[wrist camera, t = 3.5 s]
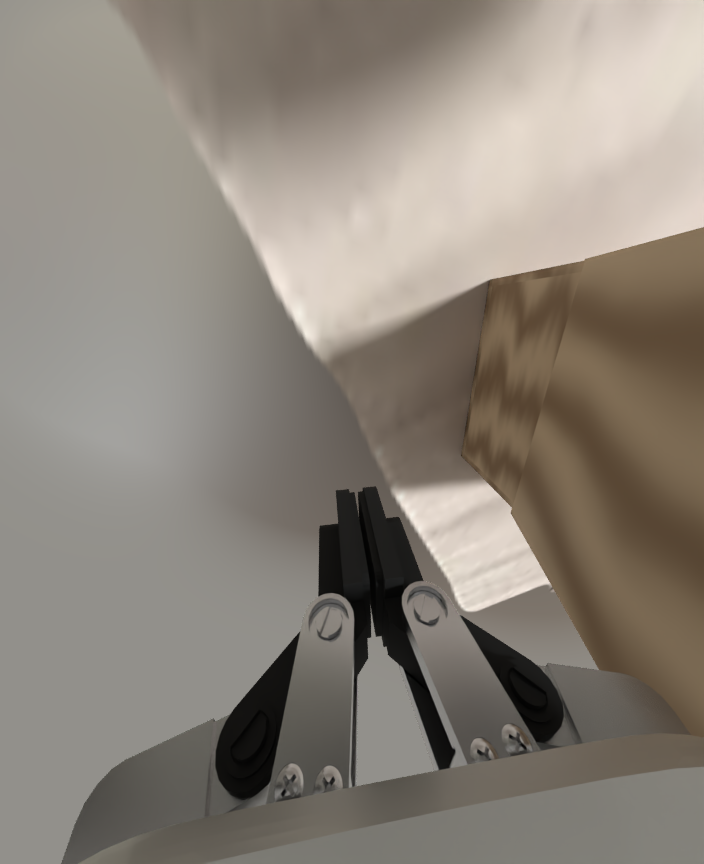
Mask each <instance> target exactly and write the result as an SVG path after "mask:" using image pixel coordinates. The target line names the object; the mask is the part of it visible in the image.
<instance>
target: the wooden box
mask: <svg viewBox="0 0 704 864" xmlns="http://www.w3.org/2000/svg"><path fill="white" fill-rule="evenodd" d="M584 262H585V261H581V262H576V263H571V264H566V265H561V266H556V267H551V268H546V269H541V270H536V271H531V272H526V273H521V274H516V275H511V276H506V277H501V278H496V279H491V280H490V282H489V288H488V294H487V300H486V306H485V313H484V319H483V325H482V331H481V337H480V343H479V349H478V356H477V362H476V368H475V374H474V380H473V386H472V392H471V399H470V405H469V411H468V417H467V423H466V429H465V435H464V442H463V448H462V454H461V456H462V457H463V458H464V459H465V460H466V461H467V462H468V463H469V464H470V465H471V466H472V467H473V468H474V469H475V470H476V471H477V472H478V473H479V474H480V475H481V476H482V477H483V478H484V479H485V480H486V482H487V483H488V484H489V485H490V486H491V487H492V488H493V489H494V490H495V491H496V492H497V493H498V494H499V495H500V496H501V497H502V498H503V499H504V500H505V501H506V502H507V503H508V504H509V505H510V506H511V507H513V503H514V500H515V497H516V493H517V490H518V486H519V483H520V480H521V476H522V473H523V469H524V466H525V463H526V459H527V456H528V452H529V449H530V446H531V442H532V439H533V435H534V432H535V429H536V425H537V422H538V418H539V415H540V412H541V408H542V405H543V401H544V398H545V394H546V391H547V388H548V384H549V381H550V377H551V374H552V371H553V367H554V364H555V360H556V357H557V354H558V350H559V347H560V343H561V340H562V337H563V333H564V330H565V326H566V323H567V320H568V316H569V313H570V309H571V306H572V303H573V299H574V296H575V292H576V289H577V286H578V282H579V279H580V275H581V272H582V269H583V265H584Z"/></svg>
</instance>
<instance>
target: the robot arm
mask: <svg viewBox="0 0 704 864" xmlns="http://www.w3.org/2000/svg"><path fill="white" fill-rule="evenodd" d="M336 498H337V511H338V524H332V525H323V526H320V529H319V595H318V597H317V598H316V599H315V600H314V601H312V602H311V603H310V605H309V606H308V608H307V609H306V611H305V614H304V617H303V621H302V626H301V631H300V632H299V633H298V634H297V636H296V637H295V638H294V639H293V640H292V642H291V643H290V644H289V645H288V646H287V647H286V649H285V650H284V651H283V652H282V653H281V654H280V656H279V657H278V658H277V659H276V660H275V661H274V663H273V664H272V665H271V666H270V667H269V669H268V670H267V671H266V672H265V673H264V674H263V676H262V677H261V678H260V679H259V680H258V681H257V683H256V684H255V685H254V686H253V687H252V688H251V690H250V691H249V692H248V693H247V694H246V696H245V697H244V698H243V699H242V700H241V702H240V703H239V704H238V705H237V706H236V707H235V709H234V710H233V712H232V713H231V714H230V715H228V716H226V717H224V718H221V719H220V720H218V721H215V720H214V719H211V720H209V721H207V722H205V723H203V724H201V725H199V726H196V727H194V728H192V729H190V730H188V731H186V732H184V733H181V734H179V735H177V736H175V737H173V738H171V739H169V740H167V741H164V742H162V743H160V744H158V745H156V746H154V747H152V748H150V749H148V750H145V751H143V752H141V753H139V754H137V755H135V756H132V757H130V758H128V759H126V760H124V761H123V762H122V763H120V764H119V765H117V766H116V767H114V768H113V769H111V770H110V772H109V773H108V774H107V775H106V776H105V777H104V778H103V779H102V780H101V781H100V782H99V783H98V784H97V786H96V787H95V789H94V790H93V792H92V793H91V794H90V796H89V798H88V799H87V800H86V802H85V803H84V806H83V808H82V810H81V812H80V814H79V817H78V819H77V821H76V823H75V825H74V828H73V831H72V834H71V837H70V840H69V843H68V846H67V849H66V852H65V854H64V857H63V860H62V863H61V864H704V737H698V736H692V735H691V734H690V733H689V731H688V730H687V728H686V727H685V725H684V724H683V723H682V721H681V720H680V718H679V717H678V716H677V714H676V713H675V711H674V710H673V709H672V708H671V707H670V705H669V704H668V703H667V702H666V701H665V700H664V698H663V697H662V696H661V695H659V694H658V693H657V692H656V691H655V690H654V689H652V688H651V687H650V686H649V685H647V684H646V683H644V682H642V681H641V680H639V679H637V678H635V677H633V676H630V675H626V674H623V673H616V672H609V671H602V670H594V669H587V668H580V667H573V666H565V665H558V664H551V663H547V665H546V666H540V665H535V664H534V663H533V662H532V661H531V660H529V659H527V658H526V657H525V656H523V655H521V654H520V653H518V652H517V651H515V650H513V649H512V648H510V647H509V646H508V645H506V644H504V643H503V642H501V641H500V640H498V639H496V638H495V637H494V636H492V635H490V634H489V633H487V632H486V631H484V630H482V629H481V628H479V627H478V626H476V625H475V624H473V623H472V622H470V621H469V620H467V619H466V618H464V617H463V616H461V615H459V613H458V611H457V610H456V608H455V606H454V605H453V603H452V601H451V600H450V598H449V597H448V595H447V594H446V593H445V592H444V591H443V590H442V589H441V588H440V587H438V586H437V585H435V584H433V583H431V582H426V581H423V578H422V576H421V573H420V571H419V568H418V565H417V562H416V560H415V557H414V554H413V552H412V550H411V547H410V544H409V541H408V539H407V536H406V533H405V531H404V528H403V525H402V523H401V520H400V518H399V517H393V518H386V517H385V514H384V510H383V507H382V504H381V501H380V498H379V494H378V491H377V488H376V487H366V488H363V491H362V492H358V501H359V516H358V510H357V505H356V499H355V493H354V492H353V493H349V490H348V489H347V490H337V491H336ZM370 605H371V609H370ZM370 610H372V616H373V623H374V629H375V634H376V637H377V636H382V640H383V646H384V647H385V646H387V651H388V655H389V656H390V657H391V658H392V659H394V660H395V661H396V662H397V663H398V664H399V668H400V672H401V675H402V677H403V680H404V683H405V686H406V689H407V692H408V695H409V698H410V701H411V704H412V707H413V710H414V713H415V716H416V719H417V722H418V725H419V728H420V730H421V734H422V737H423V739H424V742H425V745H426V748H427V751H428V754H429V757H430V760H431V763H432V766H433V769H434V771H433V772H428V773H423V774H417V775H412V776H407V777H402V778H397V779H392V780H386V781H381V782H376V783H371V784H366V785H361V786H356V779H357V720H358V719H357V717H358V716H357V715H358V674H359V672H360V671H361V669H362V667H363V666H364V664H365V662H366V661H367V659H368V645H367V638H370V637H371V614H370V613H371V611H370Z"/></svg>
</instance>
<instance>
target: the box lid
mask: <svg viewBox="0 0 704 864" xmlns="http://www.w3.org/2000/svg"><path fill="white" fill-rule="evenodd" d="M511 514H512V516H513V518H514V520H515V521H516V523H517V525H518V527H519V529H520V530H521V532H522V534H523V536H524V537H525V539H526V541H527V543H528V544H529V546H530V548H531V550H532V552H533V553H534V555H535V557H536V559H537V560H538V562H539V564H540V566H541V567H542V569H543V571H544V573H545V575H546V576H547V578H548V580H549V582H550V583H551V585H552V587H553V589H554V591H555V592H556V594H557V596H558V597H559V599H560V601H561V603H562V604H563V606H564V608H565V610H566V612H567V614H568V615H569V617H570V619H571V620H572V622H573V624H574V626H575V628H576V630H577V631H578V633H579V635H580V637H581V638H582V640H583V642H584V644H585V645H586V647H587V649H588V651H589V653H590V654H591V656H592V658H593V660H594V661H595V663H596V665H597V667H598V668H599V670H602V671H609V672H616V673H623V674H626V675H630V676H633V677H635V678H637V679H639V680H641V681H642V682H644V683H646V684H647V685H649V686H650V687H651V688H652V689H654V690H655V691H656V692H657V693H658V694H659V695H661V696H662V697H663V698H664V700H665V701H666V702H667V703H668V704H669V705H670V707H671V708H672V709H673V710H674V711H675V713H676V714H677V716H678V717H679V718H680V720H681V721H682V723H683V724H684V725H685V727H686V728H687V730H688V731H689V733H690V734H691V735H692V736H698V737H704V227H703V228H699V229H696V230H692V231H688V232H684V233H681V234H677V235H673V236H669V237H666V238H662V239H658V240H655V241H651V242H647V243H643V244H640V245H636V246H632V247H628V248H625V249H621V250H617V251H614V252H610V253H606V254H602V255H599V256H595V257H591V258H587V259H585V262H584V265H583V269H582V272H581V275H580V279H579V282H578V286H577V289H576V292H575V296H574V299H573V303H572V306H571V309H570V313H569V316H568V320H567V323H566V326H565V330H564V333H563V337H562V340H561V343H560V347H559V350H558V354H557V357H556V360H555V364H554V367H553V371H552V374H551V377H550V381H549V384H548V388H547V391H546V394H545V398H544V401H543V405H542V408H541V412H540V415H539V418H538V422H537V425H536V429H535V432H534V435H533V439H532V442H531V446H530V449H529V452H528V456H527V459H526V463H525V466H524V469H523V473H522V476H521V480H520V483H519V486H518V490H517V493H516V497H515V500H514V503H513V507H512V510H511Z"/></svg>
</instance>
